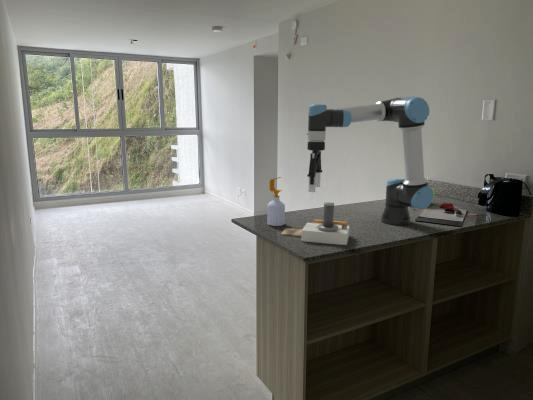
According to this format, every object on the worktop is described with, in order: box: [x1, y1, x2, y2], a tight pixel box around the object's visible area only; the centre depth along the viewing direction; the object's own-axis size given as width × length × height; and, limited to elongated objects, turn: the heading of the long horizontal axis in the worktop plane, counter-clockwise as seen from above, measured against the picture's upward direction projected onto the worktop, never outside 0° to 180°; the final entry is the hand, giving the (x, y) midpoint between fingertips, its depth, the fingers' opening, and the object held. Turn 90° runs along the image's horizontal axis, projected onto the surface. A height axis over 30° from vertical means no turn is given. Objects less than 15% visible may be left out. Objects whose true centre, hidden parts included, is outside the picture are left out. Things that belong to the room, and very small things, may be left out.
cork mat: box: [280, 227, 303, 237], centre depth 196 cm, size 10×10×1 cm
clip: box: [313, 218, 348, 226], centre depth 187 cm, size 15×3×1 cm, turn 75°
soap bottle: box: [266, 176, 286, 227], centre depth 209 cm, size 9×9×25 cm
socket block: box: [300, 222, 350, 246], centre depth 187 cm, size 20×14×6 cm
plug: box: [318, 201, 338, 231], centre depth 184 cm, size 9×9×17 cm
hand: (314, 189), depth 182 cm, fingers open, 13 cm apart
